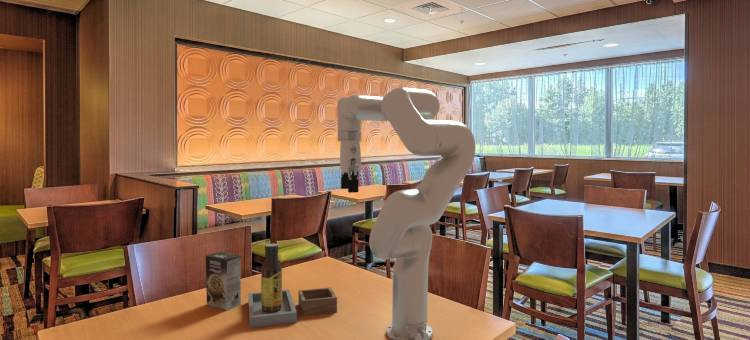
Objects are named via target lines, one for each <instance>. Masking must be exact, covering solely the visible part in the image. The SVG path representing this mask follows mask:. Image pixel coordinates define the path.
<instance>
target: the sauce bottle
mask: <svg viewBox="0 0 750 340" xmlns="http://www.w3.org/2000/svg"><path fill="white" fill-rule="evenodd" d="M264 250H265V252H264V253H265V257H264V259H265V260H264V261H263V264H262V266H261V275H260V292H261V305H262V310H263V311H264V312H275V311H278V310H280V309H281V304H282V290H283V269H282V266H281V263H280V261H279V244H277V243H267V244H265V245H264Z"/></svg>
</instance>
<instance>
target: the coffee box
mask: <svg viewBox="0 0 750 340" xmlns="http://www.w3.org/2000/svg"><path fill="white" fill-rule="evenodd" d="M241 256H242V255H241V254H235V253H229V252H225V251H224V252H223V251H218V252H214V253H210V254H206V255H205V277H206V279H205V281H206V282H205V284H206V291H205V292H206V306H209V307H212V308H216V309H220V310H223V311H230V310H231V309H233V308H235V307H238V306H240V305H241V304H242V301H241V299H242V297H241V296H242V290H241V289H242V286H241V284H242V283H241V279H242V278H241V277H242V275H241V269H242V267H241V266H242V265H241V262H242V261H241Z"/></svg>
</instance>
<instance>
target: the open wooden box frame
mask: <svg viewBox="0 0 750 340" xmlns="http://www.w3.org/2000/svg"><path fill="white" fill-rule="evenodd" d="M298 307H299V310H300V312H301V316H302V317H305V316H313V315H314V316H315V315H321V314H330V313H331V314H332V313H337V312H338V297H337V295H336V294H335V292H334V290H333V289H332V287H323V288H321V287H319V288H313V289H310V288H309V289H302V290H300V289H299V290H298Z"/></svg>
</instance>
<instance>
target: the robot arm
mask: <svg viewBox="0 0 750 340" xmlns="http://www.w3.org/2000/svg"><path fill="white" fill-rule="evenodd" d="M440 106H441V105H440V100H439V98H438V97H437V95H436V94H435V93H434V92H432V91H430V90H427V89H421V88H414V87H413V88H412V87H396V88H393V89H392V90H390V91H389V92H388V93H386V94H384V95H383V96H376V95H366V94H365V95H364V94H363V95H362V94H353V95H350V96H348V97H345V96H344V97H340V98H339V99H338V100H337V142H340V144H339V145H340V147H339V148H340V149H339V166H340V167H339V169H340V172H341V173H340V175H341V176H340V189H341V190H347V192H348V193H359V174H360V173H361V172H362V154H361V153H362V152H361V151H362V150H361V142H362V121H371V122H373V121H375V122H376V121H377V122H388V123H389V124H390V125H391V127H392V128H393V130H394V131H395V133H396V134H397V136H398V137H399V139H400V141H401V143H402V144H403V145H404V147H405V148H406V149H407V151H409V153H411V154H413V155H415V156H418V157H436V156H438V157H439V156H440V157H439V158H438V159H437V160H436V161H435V162H434V163H433V164H432V165H431V166H430V167H429V168H428V169H427V170H426V172H425V173H424V176H423V178H422V180H421V181H420V183H419V185H418V186H416V187H415V188H410V189H401V190H397V191H394V192H392V193H391V194H390V195H388V197H387V198H386V199H385V201H384V203H383V204H382V207H381V209H380V211H379V213H378V215H377V217H376V220H375V221H374V223H373V226H372V228H371V230H370V234H369V239H368V240H369V242H368V243H369V248H370V251H371V252H372V255H374V257H376V258H377V259H378V260H379V259H380V260H387V261H388V260H392V259H393V260H394V259H395V260H394V263H393V267H392V288H391V289H392V295H391V296H392V299H391V300H392V302H391V303H392V305H391V306H392V309H391V311H392V312H391V315H392V316H391V317H392V318H391V320H392V321H391V323H390V324H389V325H387V327H386V329H385V330H386V336H387V337H389V339H391V340H431V339H432V337H434V336H433V335H434V334H433V332H434V329H433V328H432V327H431V326H430V325H429V324H428V301H429V300H428V299H429V298H428V297H429V296H428V293H429V292H428V291H429V263H430V262H429V260H430V255H431V249H432V245H433V231H432V228H431V226H430V225H434V224H436V223H437V222H438V221H439V220H440V219H441V217H442V216H443V214H444V212H445V211H446V209H447V207H448V206H449V204H450V201H451V199H452V198H453V197H454V196H455V192H457V189H458V188H459V185H460V184H461V183H462V181H463V180H464V179H465V177H466V176H467V174H468V173H469V171H470V169H471V168H472V165H473V162H474V160H475V157H476V140H475V137H474V134H473V131H472V130H471V129H470V127H468V125H466V124H464V123H462V122H459V121H456V120H446V119H445V120H444V119H435V117H436V116H437V115H438V113H439V111H440Z"/></svg>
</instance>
